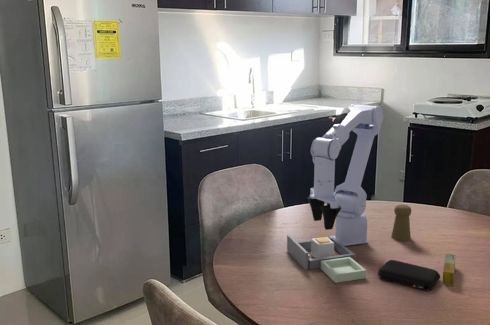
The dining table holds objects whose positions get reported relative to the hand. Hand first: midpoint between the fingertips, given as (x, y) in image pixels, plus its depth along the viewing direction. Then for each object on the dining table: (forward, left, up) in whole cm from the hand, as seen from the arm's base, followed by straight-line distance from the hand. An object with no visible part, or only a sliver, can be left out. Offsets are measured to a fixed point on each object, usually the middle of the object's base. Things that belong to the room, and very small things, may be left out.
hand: (322, 224), depth 142 cm
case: (0, 0, -10) cm, 10 cm away
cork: (-30, -5, -10) cm, 33 cm away
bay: (0, +12, -10) cm, 16 cm away
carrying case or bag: (-15, +20, -10) cm, 28 cm away
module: (0, 0, -10) cm, 10 cm away
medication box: (-27, +22, -10) cm, 36 cm away
